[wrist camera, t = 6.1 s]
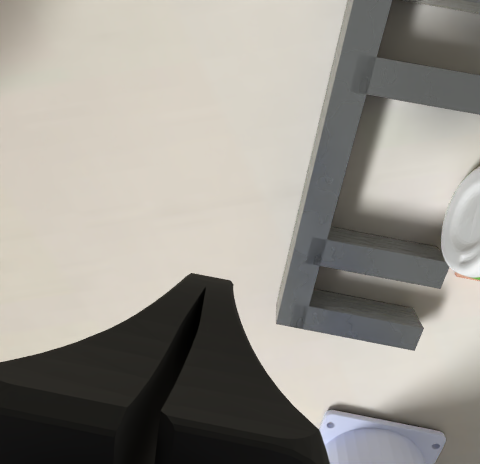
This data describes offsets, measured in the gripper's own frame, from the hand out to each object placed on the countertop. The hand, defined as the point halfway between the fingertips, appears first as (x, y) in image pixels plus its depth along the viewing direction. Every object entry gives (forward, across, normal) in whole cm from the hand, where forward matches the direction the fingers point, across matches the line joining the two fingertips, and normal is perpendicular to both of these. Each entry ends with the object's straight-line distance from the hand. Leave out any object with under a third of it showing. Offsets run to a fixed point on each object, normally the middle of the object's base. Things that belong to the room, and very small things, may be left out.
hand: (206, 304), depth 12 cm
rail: (+10, -8, -3) cm, 13 cm away
